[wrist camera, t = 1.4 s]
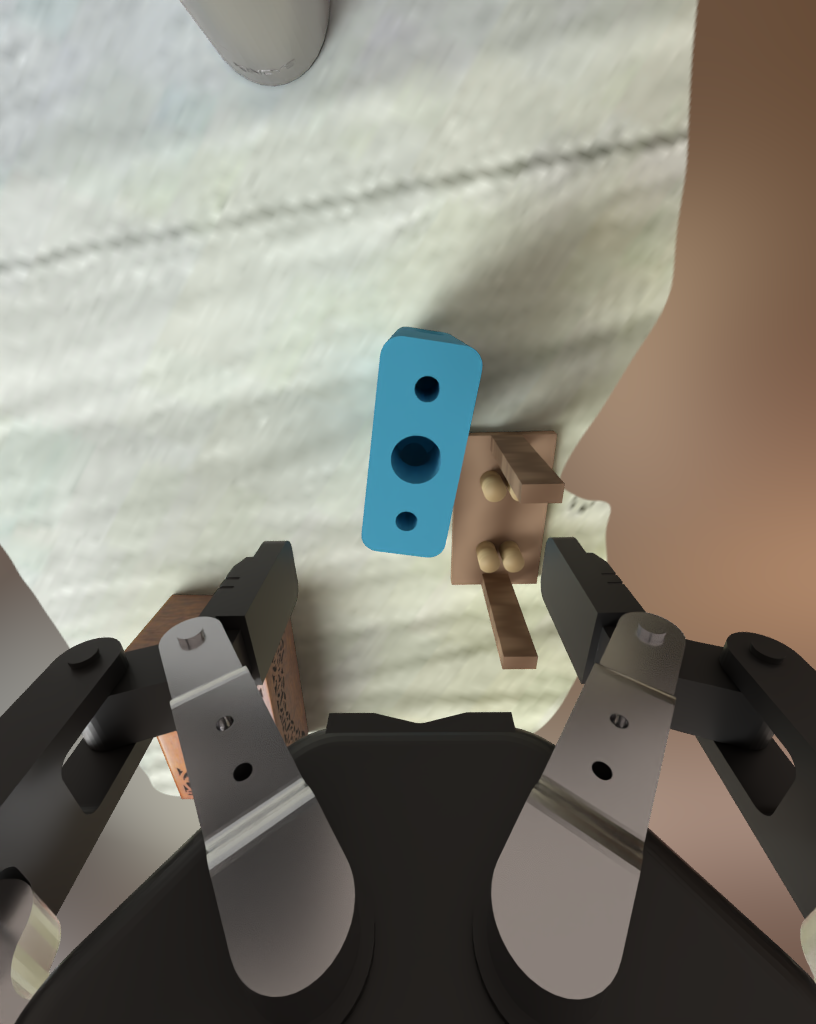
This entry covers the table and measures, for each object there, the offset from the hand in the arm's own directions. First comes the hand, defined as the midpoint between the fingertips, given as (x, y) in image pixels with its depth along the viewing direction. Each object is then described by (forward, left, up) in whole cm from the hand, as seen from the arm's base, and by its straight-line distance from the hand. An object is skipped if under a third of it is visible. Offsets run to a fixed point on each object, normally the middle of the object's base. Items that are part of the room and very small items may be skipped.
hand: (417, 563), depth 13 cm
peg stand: (+13, +9, -30) cm, 34 cm away
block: (0, 0, -30) cm, 30 cm away
